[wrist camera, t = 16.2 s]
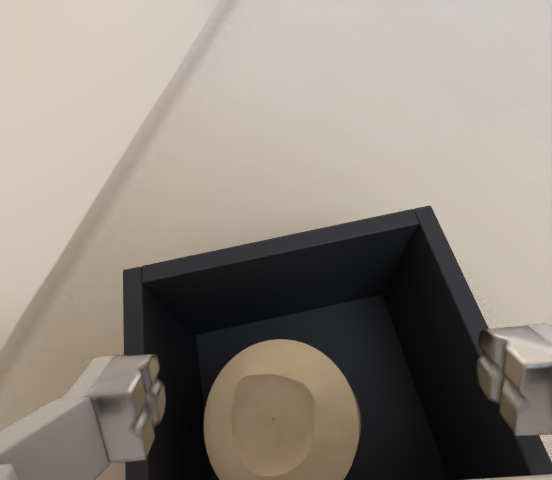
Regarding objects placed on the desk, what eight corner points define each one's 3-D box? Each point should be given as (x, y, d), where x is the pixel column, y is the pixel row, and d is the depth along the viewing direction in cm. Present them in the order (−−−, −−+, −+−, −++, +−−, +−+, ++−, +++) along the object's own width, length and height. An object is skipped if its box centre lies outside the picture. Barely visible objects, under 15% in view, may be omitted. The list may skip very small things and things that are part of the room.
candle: (244, 399, 22) (161, 388, 13) (324, 346, 22) (296, 300, 13) (293, 500, 19) (233, 569, 11) (383, 439, 20) (397, 457, 11)
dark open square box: (209, 602, 18) (127, 741, 10) (185, 328, 25) (122, 269, 16) (481, 536, 19) (625, 616, 10) (388, 283, 25) (431, 204, 17)
